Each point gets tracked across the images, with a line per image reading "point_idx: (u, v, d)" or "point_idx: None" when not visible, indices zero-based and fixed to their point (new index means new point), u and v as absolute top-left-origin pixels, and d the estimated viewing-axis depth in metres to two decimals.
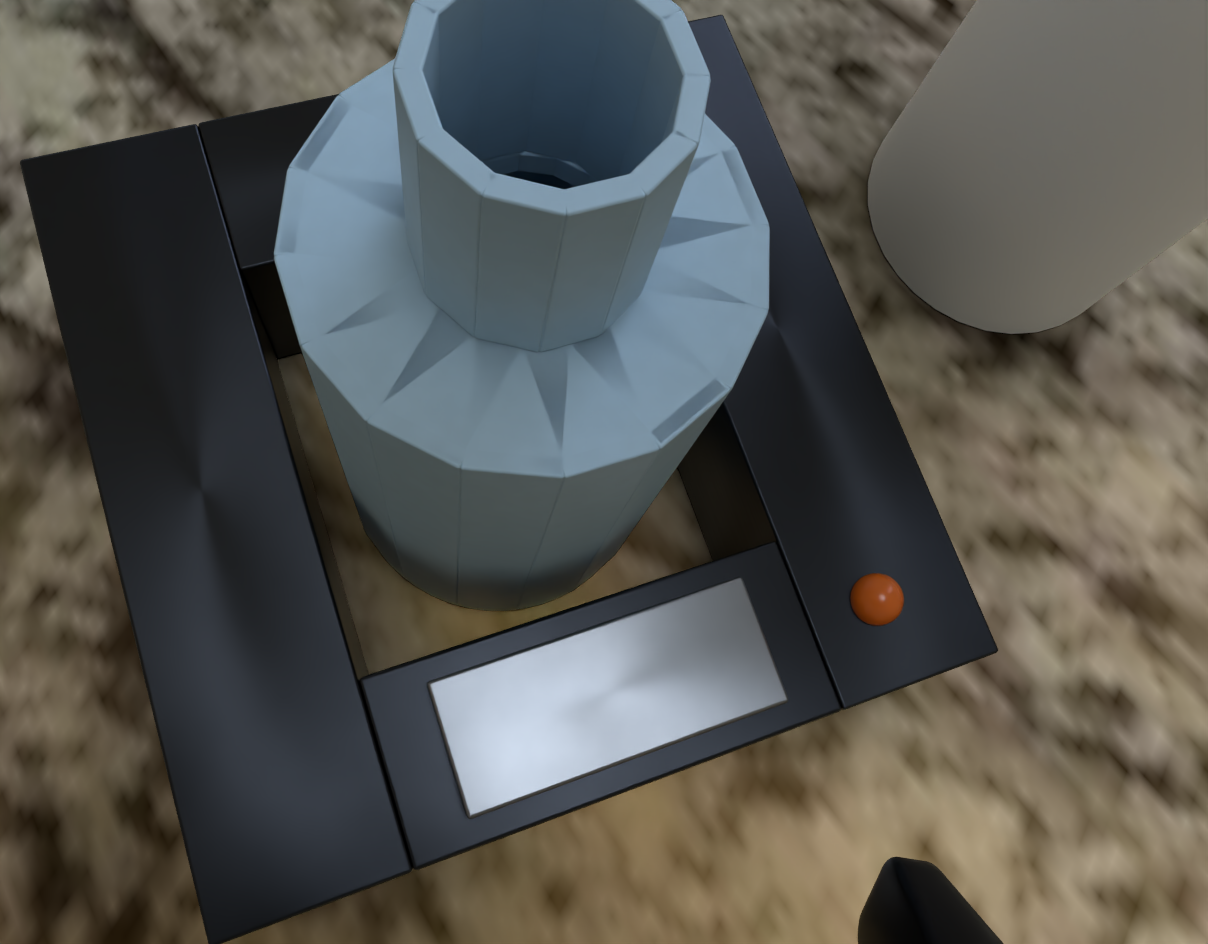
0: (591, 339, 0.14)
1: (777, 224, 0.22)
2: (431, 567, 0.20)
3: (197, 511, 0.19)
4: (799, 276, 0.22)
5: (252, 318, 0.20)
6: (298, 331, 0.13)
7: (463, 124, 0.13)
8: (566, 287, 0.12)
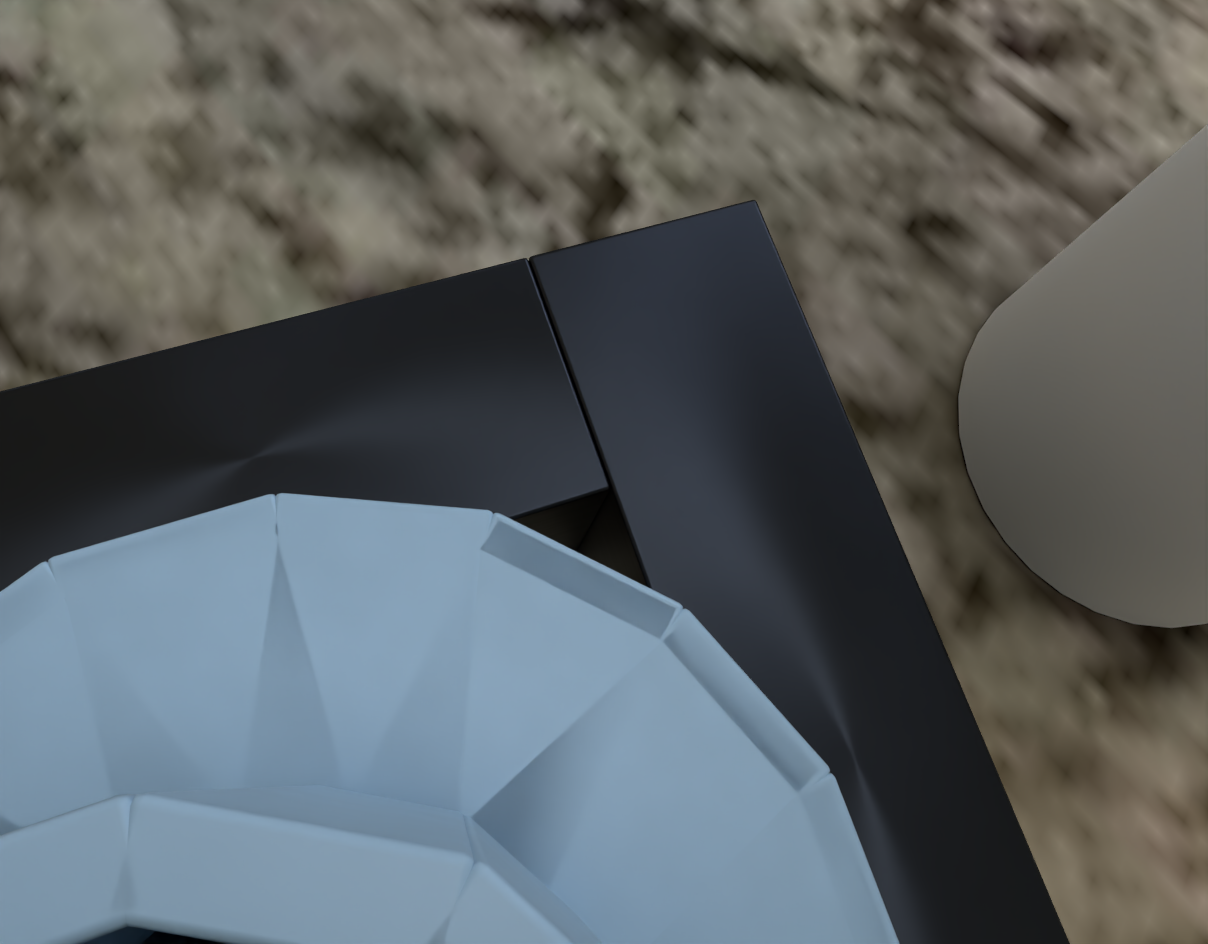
0: None
1: (849, 564, 0.14)
2: None
3: None
4: (887, 658, 0.13)
5: None
6: None
7: None
8: None
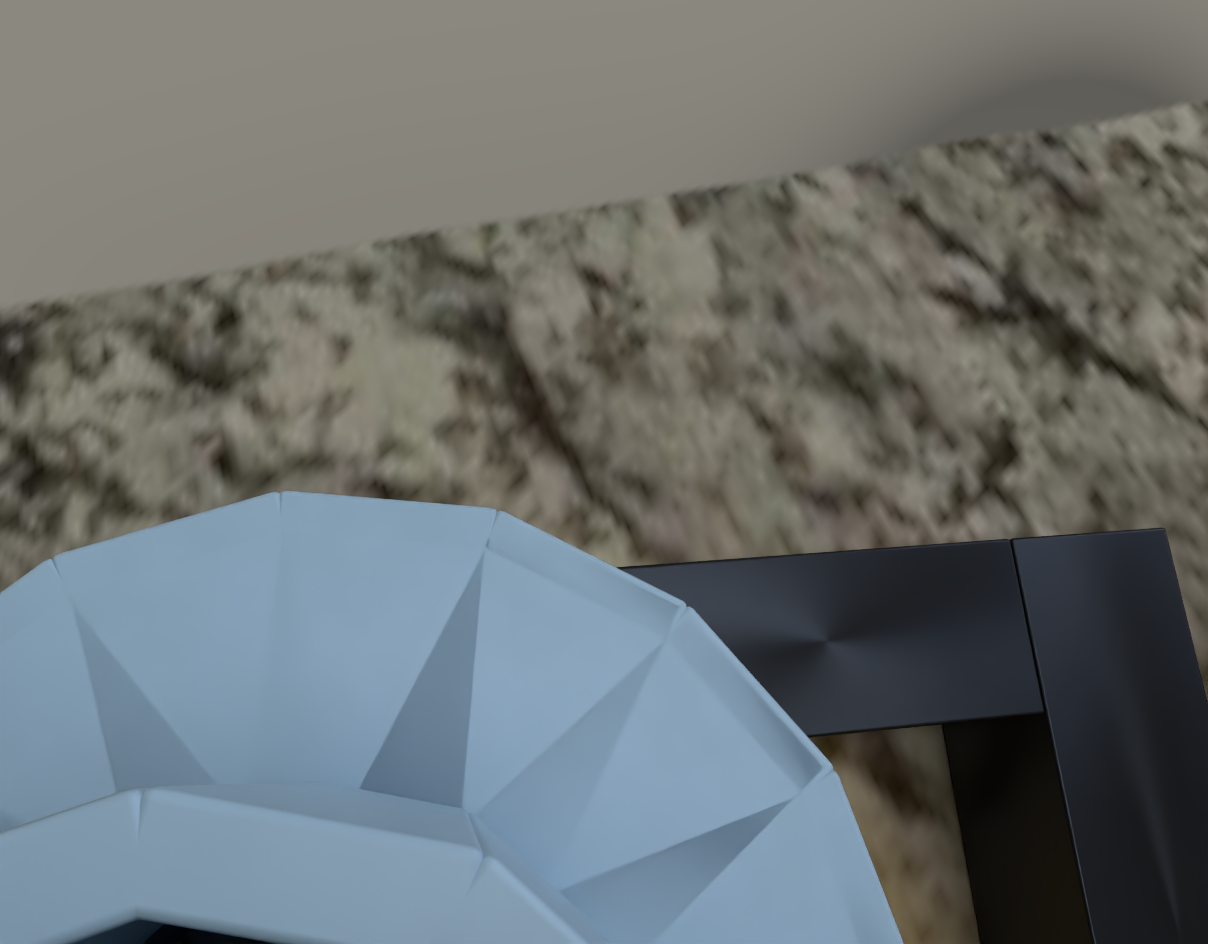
0: None
1: (1193, 801, 0.20)
2: None
3: None
4: None
5: None
6: None
7: None
8: None
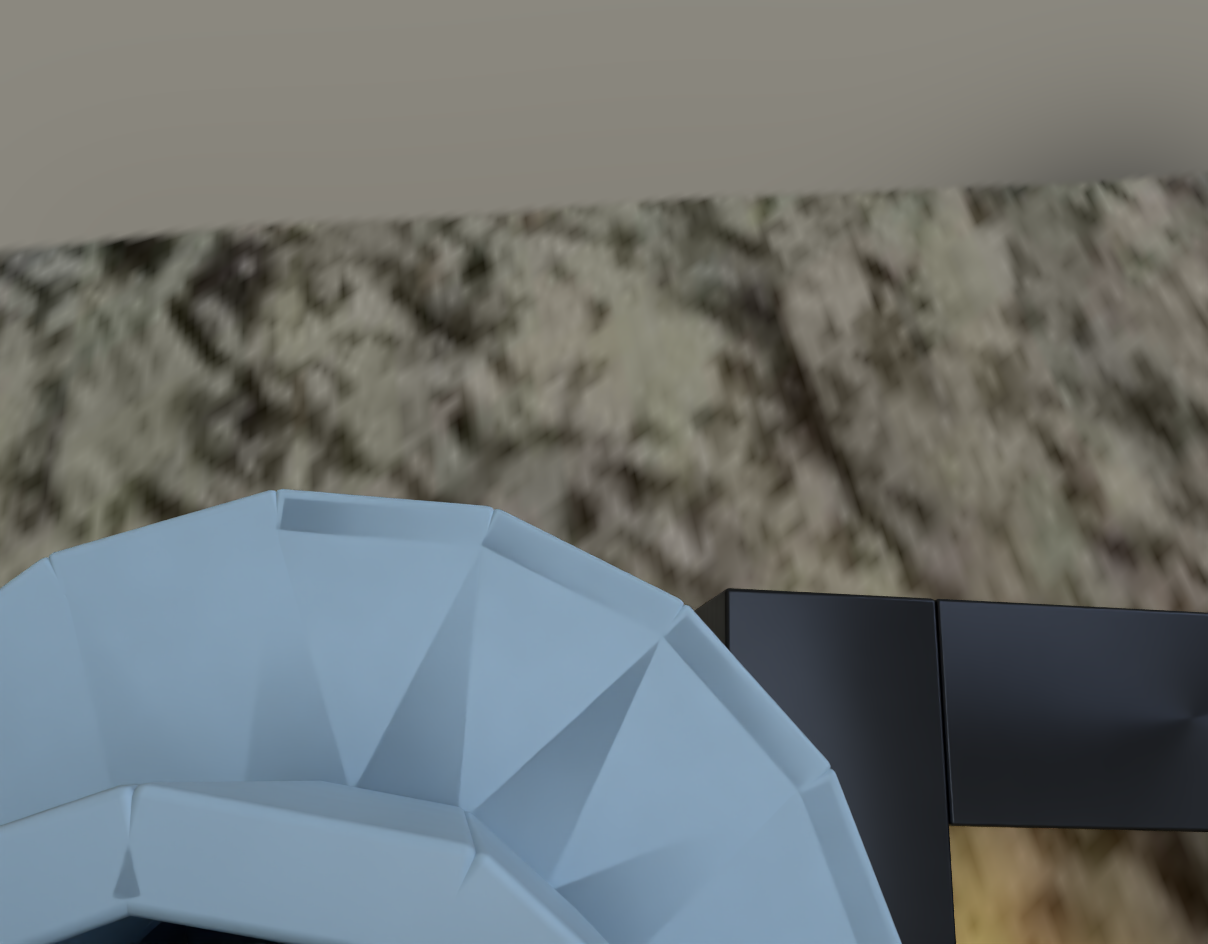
0: None
1: None
2: None
3: None
4: None
5: None
6: None
7: None
8: None
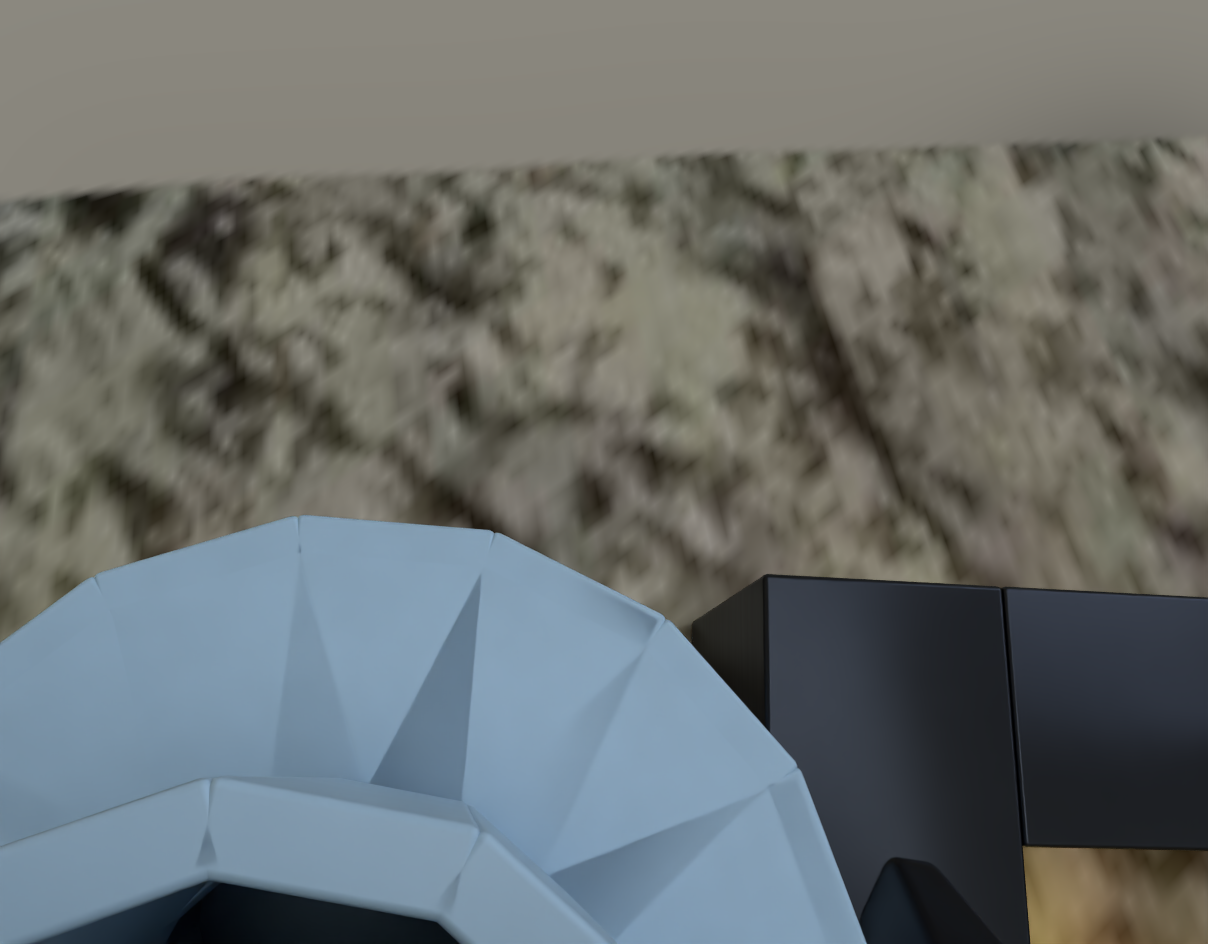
0: None
1: None
2: None
3: None
4: None
5: (1029, 934, 0.13)
6: None
7: (123, 939, 0.05)
8: None
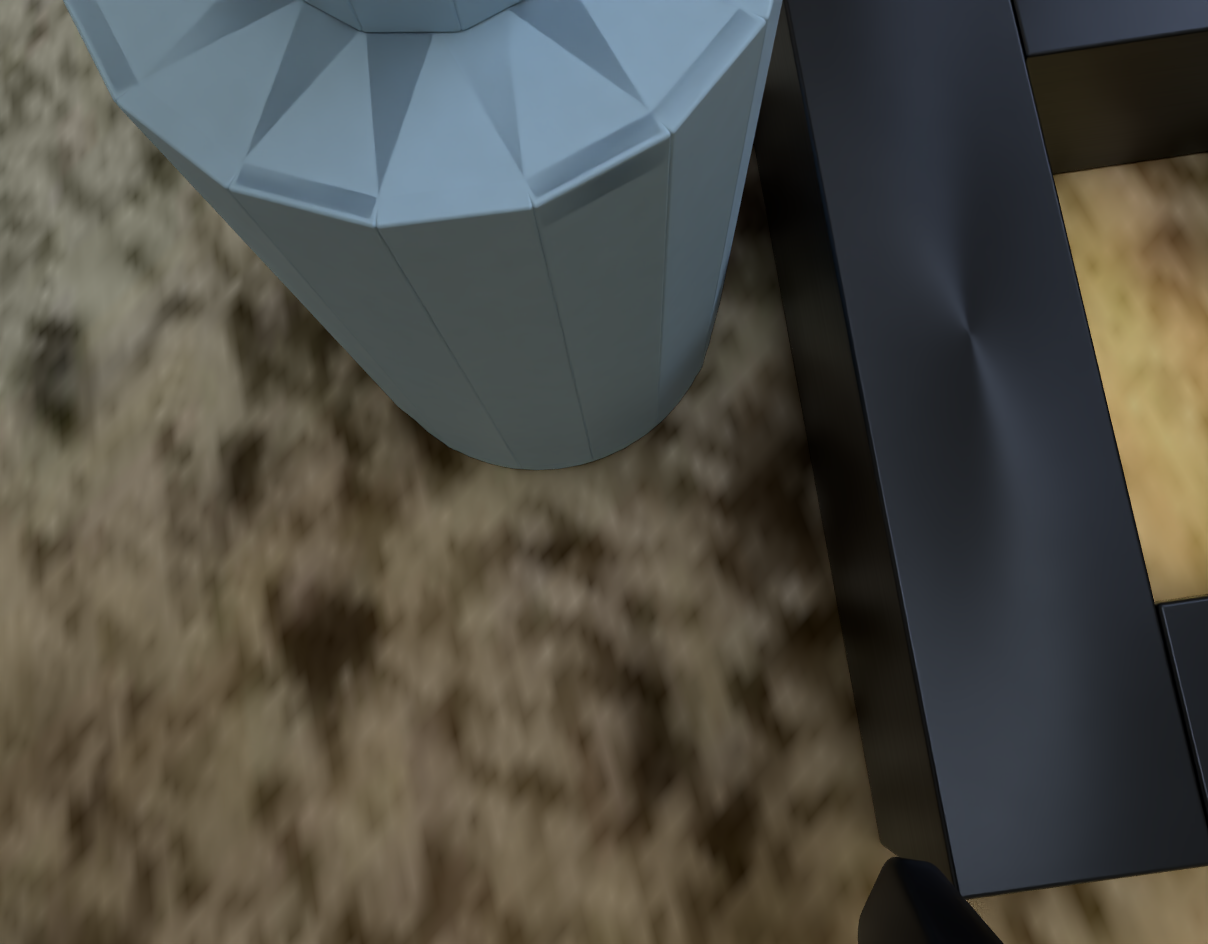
0: None
1: None
2: (463, 422, 0.16)
3: (962, 357, 0.15)
4: None
5: (1039, 120, 0.16)
6: (106, 80, 0.09)
7: None
8: None
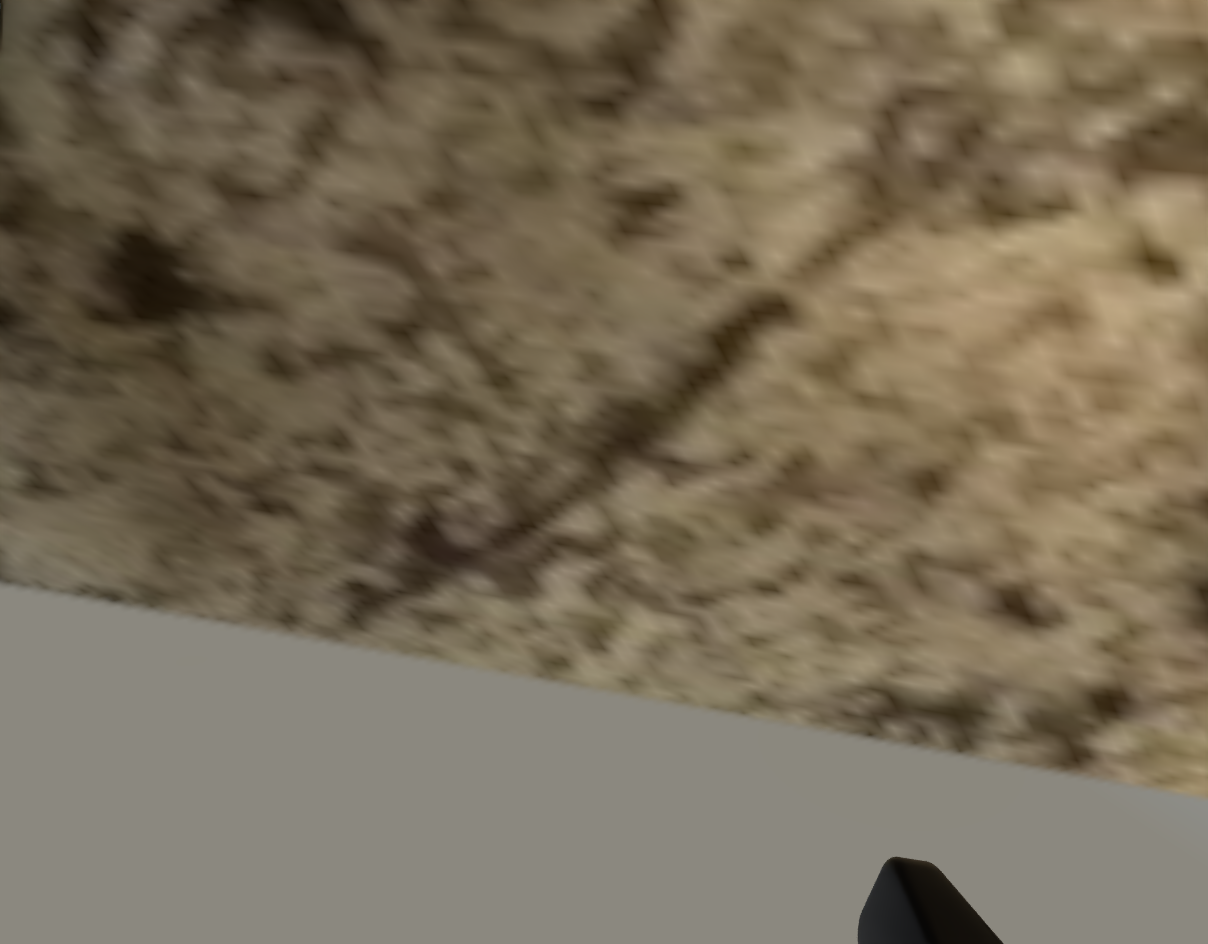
0: None
1: None
2: None
3: None
4: None
5: None
6: None
7: None
8: None
